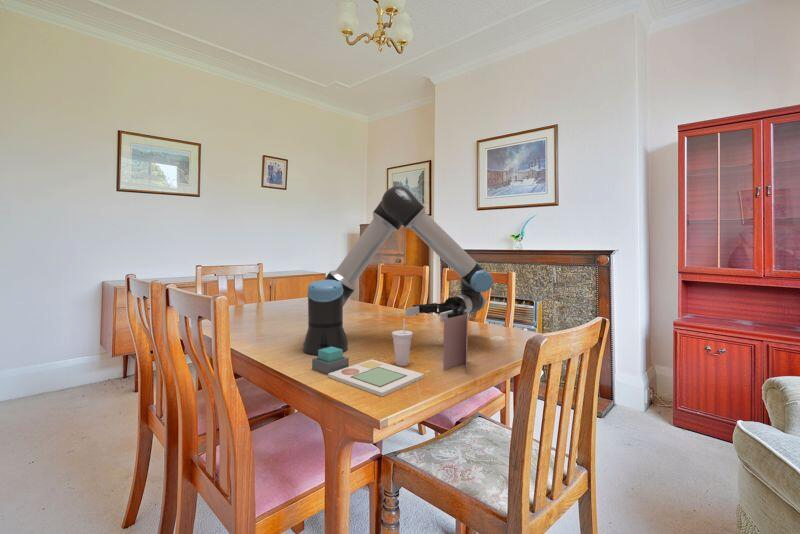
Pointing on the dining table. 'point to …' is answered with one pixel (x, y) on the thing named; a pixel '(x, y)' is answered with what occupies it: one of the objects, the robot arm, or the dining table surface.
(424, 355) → the dining table surface
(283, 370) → the dining table surface
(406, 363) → the smoothie
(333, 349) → the button
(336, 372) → the picture board
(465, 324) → the greeting card
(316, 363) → the button housing
